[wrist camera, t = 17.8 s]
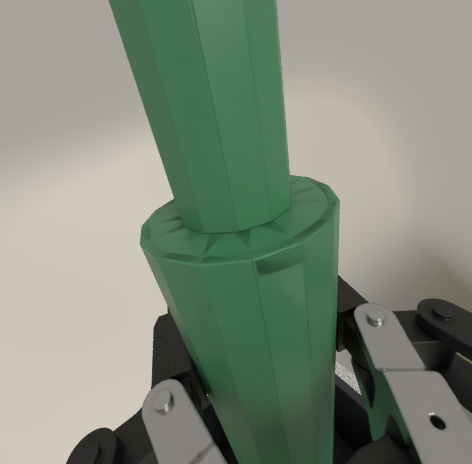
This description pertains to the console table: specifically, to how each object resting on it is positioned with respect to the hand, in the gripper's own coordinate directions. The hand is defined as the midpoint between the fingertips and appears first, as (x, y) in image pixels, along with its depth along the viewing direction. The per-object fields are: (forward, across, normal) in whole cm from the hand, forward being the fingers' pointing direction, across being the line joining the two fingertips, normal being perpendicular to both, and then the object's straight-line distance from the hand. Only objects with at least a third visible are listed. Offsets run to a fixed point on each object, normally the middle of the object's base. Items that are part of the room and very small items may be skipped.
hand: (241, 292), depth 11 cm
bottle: (-3, 0, +13) cm, 13 cm away
